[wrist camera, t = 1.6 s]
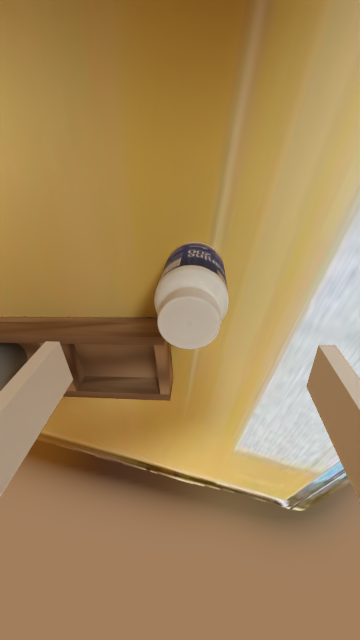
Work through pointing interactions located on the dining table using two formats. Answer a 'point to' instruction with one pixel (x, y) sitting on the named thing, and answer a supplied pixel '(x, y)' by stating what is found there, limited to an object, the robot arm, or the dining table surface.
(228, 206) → the dining table surface
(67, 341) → the rack
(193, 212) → the dining table surface
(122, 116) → the dining table surface
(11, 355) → the grey rounded cylinder
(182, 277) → the pill bottle
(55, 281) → the dining table surface
